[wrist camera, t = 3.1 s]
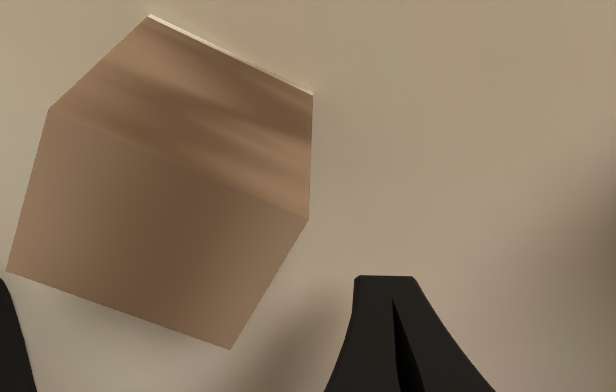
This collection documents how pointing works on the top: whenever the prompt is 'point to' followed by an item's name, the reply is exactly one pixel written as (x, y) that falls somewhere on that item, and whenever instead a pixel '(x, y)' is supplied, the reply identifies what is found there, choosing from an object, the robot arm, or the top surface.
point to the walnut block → (169, 184)
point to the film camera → (12, 349)
